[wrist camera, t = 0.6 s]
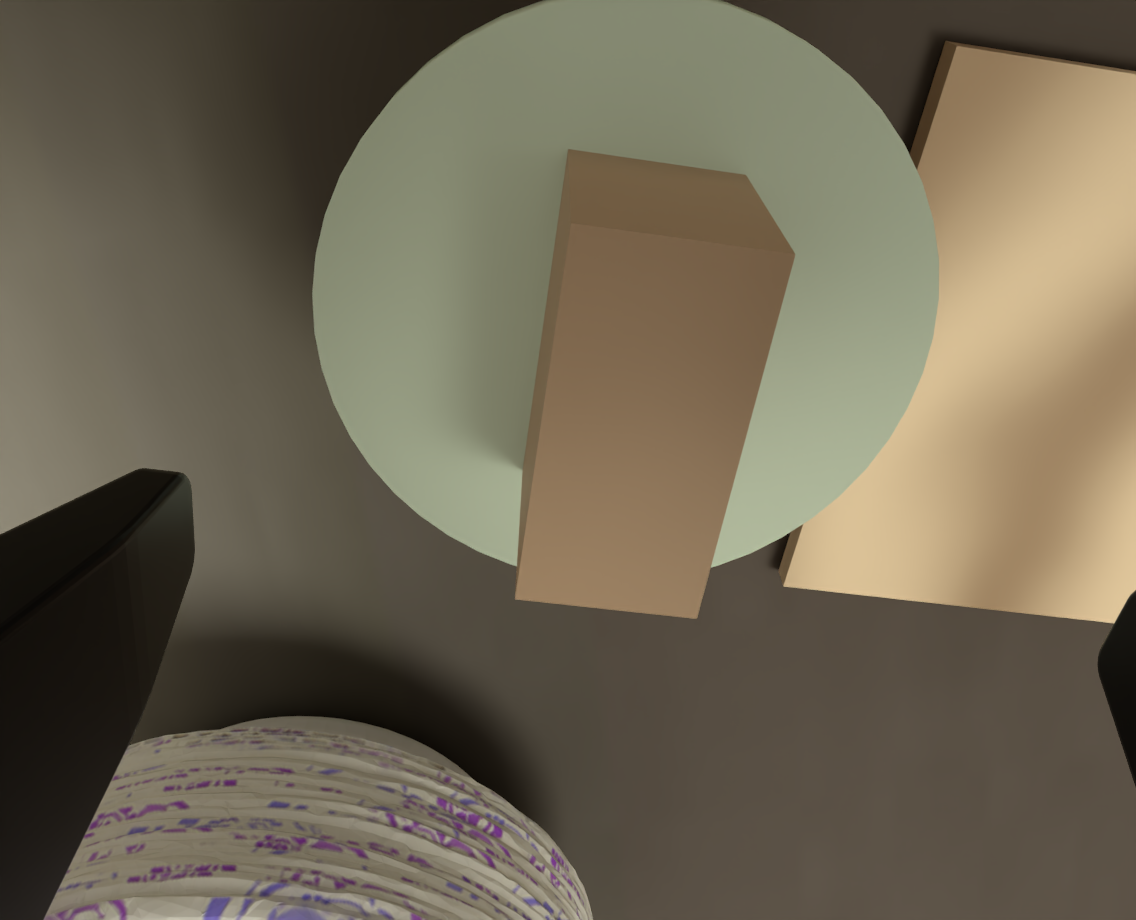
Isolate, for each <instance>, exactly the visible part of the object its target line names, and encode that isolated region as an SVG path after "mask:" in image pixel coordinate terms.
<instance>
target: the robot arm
mask: <svg viewBox="0 0 1136 920" xmlns="http://www.w3.org/2000/svg"><path fill="white" fill-rule="evenodd" d="M194 554H195V542H194V525H193V507H192V491H191V485H190V481H189V479H188V478H187V476H186V475H184V474H183V473H180V472H173V471H164V470H156V469H147V468H142V469H138V470H135V471H133V472H131V473H128V474H126V475H124V476H122V477H120V478H118V479H116V480H114V481H112V482H110V483H107V484H105V485H103V486H101V487H99V488H97V489H95V490H93V491H91V492H89V493H86V494H84V495H82V496H80V497H78V498H76V499H74V500H72V501H70V502H68V503H65V504H63V505H61V506H59V507H57V508H55V509H53V510H51V511H49V512H47V513H44V514H42V515H40V516H38V517H36V518H34V519H32V520H30V521H28V522H26V523H23V524H21V525H19V526H17V527H15V528H13V529H11V530H9V531H7V532H5V533H2V534H0V920H44V918H45V916H46V914H47V912H48V910H49V908H50V906H51V904H52V902H53V900H54V898H55V896H56V893H57V891H58V889H59V887H60V885H61V883H62V881H63V879H64V877H65V875H66V873H67V871H68V869H69V867H70V865H71V863H72V861H73V859H74V856H75V854H76V852H77V850H78V848H79V846H80V844H81V842H82V840H83V838H84V836H85V834H86V832H87V830H88V828H89V826H90V824H91V822H92V819H93V817H94V815H95V813H96V811H97V809H98V807H99V805H100V803H101V801H102V799H103V797H104V795H105V793H106V791H107V789H108V787H109V784H110V782H111V780H112V778H113V776H114V774H115V772H116V770H117V768H118V766H119V764H120V762H121V760H122V758H123V756H124V754H125V752H126V750H127V747H128V745H129V743H130V741H131V739H132V737H133V735H134V733H135V730H136V728H137V726H138V724H139V721H140V719H141V717H142V715H143V712H144V709H145V707H146V704H147V701H148V698H149V696H150V693H151V690H152V687H153V684H154V681H155V678H156V675H157V673H158V670H159V667H160V664H161V661H162V658H163V655H164V652H165V649H166V646H167V643H168V640H169V637H170V634H171V631H172V628H173V626H174V623H175V620H176V617H177V614H178V611H179V608H180V605H181V602H182V599H183V596H184V593H185V590H186V587H187V584H188V581H189V579H190V575H191V572H192V568H193V563H194ZM1098 673H1099V677H1100V680H1101V683H1102V686H1103V689H1104V692H1105V695H1106V698H1107V701H1108V704H1109V707H1110V710H1111V713H1112V716H1113V719H1114V722H1115V725H1116V728H1117V731H1118V734H1119V738H1120V741H1121V744H1122V747H1123V750H1124V753H1125V756H1126V759H1127V762H1128V765H1129V768H1130V771H1131V774H1132V777H1133V780H1134V783H1135V786H1136V590H1135V591H1134V592H1133V593H1132V594H1131V595H1130V596H1129V598H1128V599H1127V601H1126V603H1125V605H1124V606H1123V608H1122V610H1121V612H1120V614H1119V615H1118V617H1117V619H1116V621H1115V623H1114V625H1113V626H1112V628H1111V630H1110V632H1109V634H1108V635H1107V637H1106V639H1105V641H1104V643H1103V644H1102V647H1101V649H1100V652H1099V656H1098Z"/></svg>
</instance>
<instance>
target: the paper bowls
mask: <svg viewBox="0 0 1136 920" xmlns="http://www.w3.org/2000/svg"><path fill="white" fill-rule="evenodd" d="M44 920H593V917H592V913H591V909H590V904H589V901H588V898H587V895H586V892H585V889H584V886H583V884H582V882H581V881H580V880H579V878H578V877H577V874H576V871H575V870H574V868H573V867H572V866H571V864H570V863H569V861H568V860H567V858H566V857H565V855H564V854H563V852H562V851H561V849H560V848H559V847H558V846H557V845H556V843H555V842H554V841H553V840H552V839H551V837H550V836H549V835H548V834H547V833H546V832H545V831H544V830H543V829H542V828H541V827H540V826H539V825H538V824H537V823H535V822H534V821H532V820H531V819H529V818H528V817H527V816H525V815H524V814H523V813H522V812H520V811H518V810H517V809H516V808H514V807H513V806H512V805H511V804H510V803H509V802H507V801H506V800H505V799H504V798H502V797H501V796H499V795H498V794H496V793H495V792H494V791H492V790H490V789H489V788H487V787H485V786H483V785H481V784H479V783H477V782H476V781H475V780H473V779H472V778H471V777H470V776H469V775H468V774H467V773H466V772H464V771H463V770H462V769H461V768H460V767H459V766H458V765H456V764H455V763H453V762H452V761H450V760H449V759H447V758H446V757H444V756H443V755H441V754H440V753H438V752H436V751H435V750H433V749H431V748H430V747H428V746H426V745H424V744H422V743H420V742H418V741H416V740H414V739H412V738H409V737H406V736H404V735H401V734H399V733H396V732H393V731H391V730H388V729H385V728H381V727H377V726H373V725H370V724H366V723H362V722H356V721H351V720H346V719H338V718H329V717H315V716H286V717H274V718H265V719H258V720H253V721H248V722H243V723H239V724H236V725H232V726H229V727H226V728H223V729H220V730H204V731H196V732H189V733H181V734H173V735H164V736H161V737H157V738H152V739H148V740H145V741H141V742H138V743H135V744H132V745H129V746H128V747H127V750H126V752H125V754H124V756H123V758H122V760H121V762H120V764H119V766H118V768H117V770H116V772H115V774H114V776H113V778H112V780H111V782H110V784H109V787H108V789H107V791H106V793H105V795H104V797H103V799H102V801H101V803H100V805H99V807H98V809H97V811H96V813H95V815H94V817H93V819H92V822H91V824H90V826H89V828H88V830H87V832H86V834H85V836H84V838H83V840H82V842H81V844H80V846H79V848H78V850H77V852H76V854H75V856H74V859H73V861H72V863H71V865H70V867H69V869H68V871H67V873H66V875H65V877H64V879H63V881H62V883H61V885H60V887H59V889H58V891H57V893H56V896H55V898H54V900H53V902H52V904H51V906H50V908H49V910H48V912H47V914H46V916H45V918H44Z"/></svg>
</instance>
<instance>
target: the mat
mask: <svg viewBox="0 0 1136 920" xmlns="http://www.w3.org/2000/svg"><path fill="white" fill-rule="evenodd" d="M910 157H911V159H912V161H913V163H914V165H915V168H916V170H917V172H918V174H919V176H920V178H921V180H922V183H923V186H924V190H925V193H926V197H927V200H928V203H929V207H930V210H931V214H932V217H933V221H934V227H935V234H936V242H937V249H938V256H939V301H938V308H937V315H936V322H935V328H934V335H933V340H932V343H931V347H930V350H929V353H928V357H927V360H926V364H925V367H924V371H923V374H922V376H921V379H920V381H919V383H918V385H917V388H916V390H915V392H914V395H913V397H912V399H911V402H910V404H909V406H908V408H907V410H906V412H905V413H904V415H903V417H902V418H901V420H900V422H899V423H898V425H897V427H896V428H895V430H894V432H893V434H892V435H891V437H890V439H889V440H888V441H887V443H886V444H885V445H884V447H883V448H882V449H881V450H880V452H879V453H878V454H877V456H876V457H875V458H874V460H873V461H872V462H871V463H870V465H869V466H868V467H867V469H866V470H865V471H864V472H863V473H862V474H861V475H860V476H859V477H858V478H857V479H856V480H855V481H854V482H853V483H852V484H851V485H850V486H849V487H848V488H847V489H846V490H845V491H844V492H843V493H842V494H841V495H840V496H839V497H838V498H836V499H835V500H834V501H833V502H832V503H830V504H829V505H828V506H827V507H825V508H824V509H823V510H822V511H820V512H819V513H818V514H817V515H816V516H814V517H813V518H812V519H810V520H809V521H807V522H805V523H804V524H802V525H801V526H799V527H798V528H796V529H795V530H793V531H791V533H790V536H789V539H788V542H787V545H786V548H785V552H784V555H783V558H782V561H781V564H780V567H779V574H780V577H781V581H782V584H783V586H785V587H794V588H803V589H812V590H821V591H830V592H839V593H848V594H857V595H866V596H875V597H884V598H893V599H902V600H911V601H920V602H929V603H938V604H947V605H956V606H964V607H973V608H982V609H991V610H1000V611H1009V612H1018V613H1027V614H1036V615H1045V616H1054V617H1063V618H1072V619H1081V620H1090V621H1099V622H1108V623H1115V621H1116V619H1117V617H1118V615H1119V614H1120V612H1121V610H1122V608H1123V606H1124V605H1125V603H1126V601H1127V599H1128V598H1129V596H1130V595H1131V594H1132V593H1133V592H1134V591H1135V590H1136V71H1131V70H1125V69H1119V68H1112V67H1106V66H1100V65H1094V64H1087V63H1081V62H1075V61H1068V60H1062V59H1056V58H1050V57H1043V56H1037V55H1031V54H1025V53H1018V52H1012V51H1006V50H999V49H993V48H987V47H981V46H974V45H968V44H962V43H956V42H949V41H945V44H944V47H943V50H942V53H941V56H940V60H939V63H938V66H937V69H936V72H935V75H934V79H933V82H932V85H931V88H930V91H929V95H928V98H927V101H926V104H925V107H924V110H923V114H922V117H921V120H920V123H919V126H918V129H917V133H916V136H915V139H914V142H913V145H912V148H911V152H910Z"/></svg>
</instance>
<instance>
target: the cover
mask: <svg viewBox="0 0 1136 920" xmlns="http://www.w3.org/2000/svg"><path fill="white" fill-rule="evenodd" d="M312 298H313V316H314V333H315V338H316V343H317V348H318V353H319V358H320V363H321V368H322V371H323V374H324V377H325V380H326V383H327V386H328V389H329V391H330V394H331V397H332V400H333V403H334V405H335V407H336V409H337V411H338V413H339V415H340V417H341V419H342V421H343V423H344V425H345V427H346V429H347V431H348V433H349V435H350V437H351V438H352V440H353V441H354V443H355V444H356V446H357V447H358V449H359V450H360V452H361V453H362V454H363V456H364V457H365V459H366V460H367V462H368V463H369V465H370V466H371V467H372V468H373V470H374V471H375V472H376V473H377V474H378V475H379V476H380V477H381V479H382V480H383V481H384V482H385V483H386V484H387V485H388V487H389V488H390V489H391V490H392V491H393V492H394V493H395V494H396V495H397V496H398V497H399V498H401V499H402V500H403V501H404V502H405V503H406V504H407V505H408V506H410V507H411V508H412V509H413V510H414V511H415V512H416V513H418V514H419V515H420V516H421V517H423V518H424V519H426V520H427V521H428V522H430V523H431V524H433V525H434V526H436V527H437V528H438V529H440V530H441V531H443V532H444V533H446V534H447V535H449V536H450V537H452V538H454V539H456V540H458V541H460V542H462V543H464V544H465V545H467V546H469V547H471V548H473V549H475V550H477V551H478V552H481V553H483V554H486V555H488V556H491V557H493V558H496V559H498V560H501V561H503V562H506V563H508V564H511V565H514V566H517V573H516V590H515V599H518V600H527V601H536V602H545V603H555V604H564V605H573V606H583V607H592V608H601V609H610V610H620V611H629V612H638V613H647V614H657V615H666V616H675V617H684V618H694V619H697V616H698V612H699V609H700V605H701V601H702V598H703V594H704V590H705V587H706V583H707V579H708V576H709V572H710V568H711V567H714V566H718V565H721V564H723V563H726V562H729V561H731V560H734V559H737V558H739V557H742V556H745V555H747V554H750V553H752V552H754V551H756V550H758V549H760V548H762V547H764V546H766V545H768V544H770V543H772V542H774V541H776V540H778V539H780V538H782V537H784V536H785V535H787V534H788V533H790V532H791V531H793V530H795V529H796V528H798V527H799V526H801V525H802V524H804V523H805V522H807V521H809V520H810V519H812V518H813V517H814V516H816V515H817V514H818V513H819V512H820V511H822V510H823V509H824V508H825V507H827V506H828V505H829V504H830V503H832V502H833V501H834V500H835V499H836V498H838V497H839V496H840V495H841V494H842V493H843V492H844V491H845V490H846V489H847V488H848V487H849V486H850V485H851V484H852V483H853V482H854V481H855V480H856V479H857V478H858V477H859V476H860V475H861V474H862V473H863V472H864V471H865V470H866V469H867V467H868V466H869V465H870V463H871V462H872V461H873V460H874V458H875V457H876V456H877V454H878V453H879V452H880V450H881V449H882V448H883V447H884V445H885V444H886V443H887V441H888V440H889V439H890V437H891V435H892V434H893V432H894V430H895V428H896V427H897V425H898V423H899V422H900V420H901V418H902V417H903V415H904V413H905V412H906V410H907V408H908V406H909V404H910V402H911V399H912V397H913V395H914V392H915V390H916V388H917V385H918V383H919V381H920V379H921V376H922V374H923V371H924V367H925V364H926V360H927V357H928V353H929V350H930V347H931V343H932V340H933V335H934V328H935V322H936V315H937V308H938V301H939V256H938V249H937V242H936V234H935V227H934V221H933V217H932V214H931V210H930V207H929V203H928V200H927V197H926V193H925V190H924V186H923V183H922V180H921V178H920V176H919V174H918V172H917V170H916V168H915V165H914V163H913V161H912V159H911V157H910V155H909V152H908V150H907V148H906V146H905V144H904V143H903V141H902V140H901V138H900V137H899V135H898V134H897V132H896V130H895V129H894V127H893V126H892V124H891V123H890V121H889V120H888V118H887V117H886V115H885V114H884V112H883V111H882V109H881V108H880V107H879V106H878V105H877V104H876V103H875V102H874V101H873V99H872V98H871V97H870V96H869V95H868V94H867V93H866V92H865V91H864V90H863V89H862V87H861V86H860V85H859V84H858V83H857V82H856V81H855V80H854V79H853V78H852V77H851V76H850V75H849V74H848V73H846V72H845V71H844V70H843V69H841V68H840V67H839V66H838V65H837V64H835V63H834V62H833V61H832V60H830V59H829V58H828V57H827V56H825V55H824V54H823V53H822V52H820V51H819V50H818V49H817V48H815V47H814V46H812V45H811V44H809V43H808V42H806V41H805V40H803V39H801V38H800V37H798V36H796V35H795V34H793V33H791V32H789V31H788V30H786V29H784V28H783V27H781V26H779V25H778V24H776V23H774V22H772V21H771V20H769V19H767V18H765V17H763V16H760V15H758V14H755V13H753V12H750V11H748V10H745V9H743V8H740V7H738V6H735V5H733V4H730V3H728V2H725V1H721V0H542V1H540V2H537V3H534V4H531V5H529V6H526V7H523V8H520V9H517V10H515V11H512V12H509V13H506V14H504V15H502V16H500V17H498V18H496V19H494V20H492V21H490V22H488V23H486V24H485V25H483V26H481V27H479V28H477V29H475V30H473V31H471V32H469V33H468V34H466V35H464V36H462V37H461V38H460V39H458V40H457V41H455V42H454V43H453V44H451V45H450V46H449V47H447V48H446V49H444V50H443V51H442V52H440V53H439V54H438V55H436V56H435V57H433V58H432V59H431V60H429V61H428V62H427V63H426V64H425V65H424V66H423V67H422V68H421V69H420V70H419V71H418V72H417V73H416V74H415V75H414V76H413V77H411V78H410V79H409V80H408V81H407V82H406V83H405V84H404V85H403V86H402V87H401V88H400V89H399V90H398V91H397V92H396V93H395V95H394V96H393V97H392V99H391V100H390V101H389V103H388V104H387V105H386V106H385V108H384V109H383V110H382V112H381V113H380V114H379V115H378V117H377V118H376V119H375V121H374V122H373V123H372V125H371V126H370V127H369V129H368V130H367V131H366V133H365V134H364V135H363V137H362V138H361V140H360V141H359V143H358V145H357V147H356V148H355V150H354V152H353V154H352V156H351V157H350V159H349V161H348V163H347V164H346V166H345V168H344V170H343V171H342V173H341V175H340V177H339V180H338V182H337V185H336V187H335V190H334V192H333V195H332V198H331V200H330V203H329V205H328V208H327V210H326V213H325V216H324V220H323V225H322V229H321V233H320V238H319V242H318V246H317V251H316V256H315V267H314V279H313V291H312Z"/></svg>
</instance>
